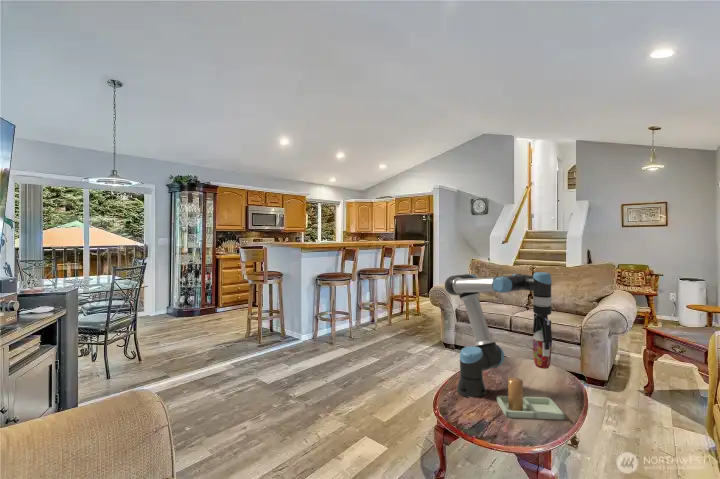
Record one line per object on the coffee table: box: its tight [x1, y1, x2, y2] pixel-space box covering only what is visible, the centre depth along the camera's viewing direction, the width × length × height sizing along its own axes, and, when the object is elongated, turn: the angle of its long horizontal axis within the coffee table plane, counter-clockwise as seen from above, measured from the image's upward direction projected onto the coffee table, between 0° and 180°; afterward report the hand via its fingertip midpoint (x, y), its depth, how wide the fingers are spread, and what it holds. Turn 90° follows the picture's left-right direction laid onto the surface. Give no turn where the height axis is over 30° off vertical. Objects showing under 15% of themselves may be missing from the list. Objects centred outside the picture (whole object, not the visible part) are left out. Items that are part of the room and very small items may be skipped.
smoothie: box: [532, 330, 553, 370], centre depth 161 cm, size 8×8×20 cm
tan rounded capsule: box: [507, 376, 524, 411], centre depth 163 cm, size 6×6×14 cm
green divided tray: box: [496, 395, 566, 421], centre depth 162 cm, size 26×15×4 cm, turn 84°
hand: (541, 352), depth 161 cm, fingers closed on smoothie, 8 cm apart
